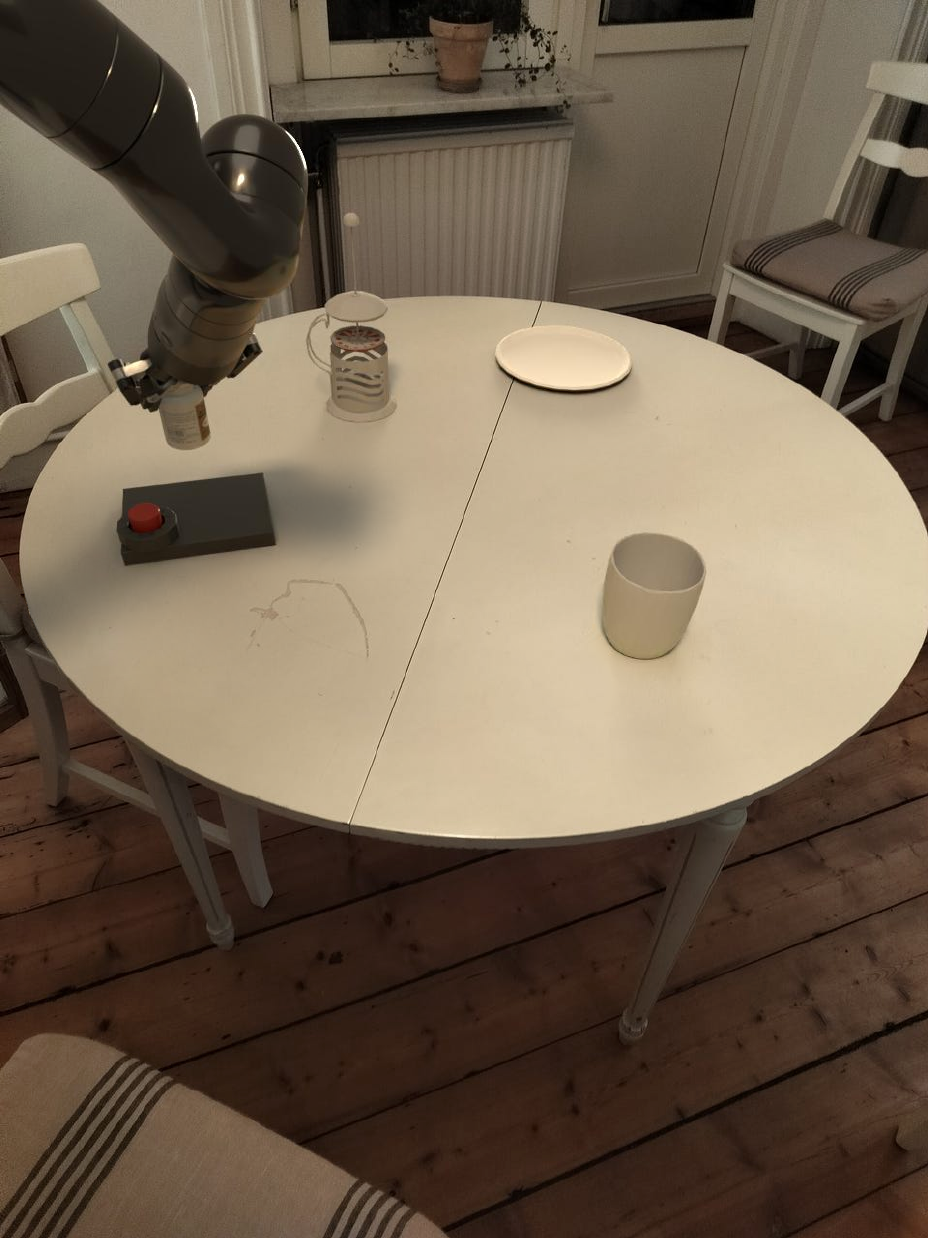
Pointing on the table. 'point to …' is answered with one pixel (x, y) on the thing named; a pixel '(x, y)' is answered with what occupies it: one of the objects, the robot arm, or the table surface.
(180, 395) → the pill bottle
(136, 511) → the button
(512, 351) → the plate
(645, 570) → the mug
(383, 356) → the french press
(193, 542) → the black button box
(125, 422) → the table surface
